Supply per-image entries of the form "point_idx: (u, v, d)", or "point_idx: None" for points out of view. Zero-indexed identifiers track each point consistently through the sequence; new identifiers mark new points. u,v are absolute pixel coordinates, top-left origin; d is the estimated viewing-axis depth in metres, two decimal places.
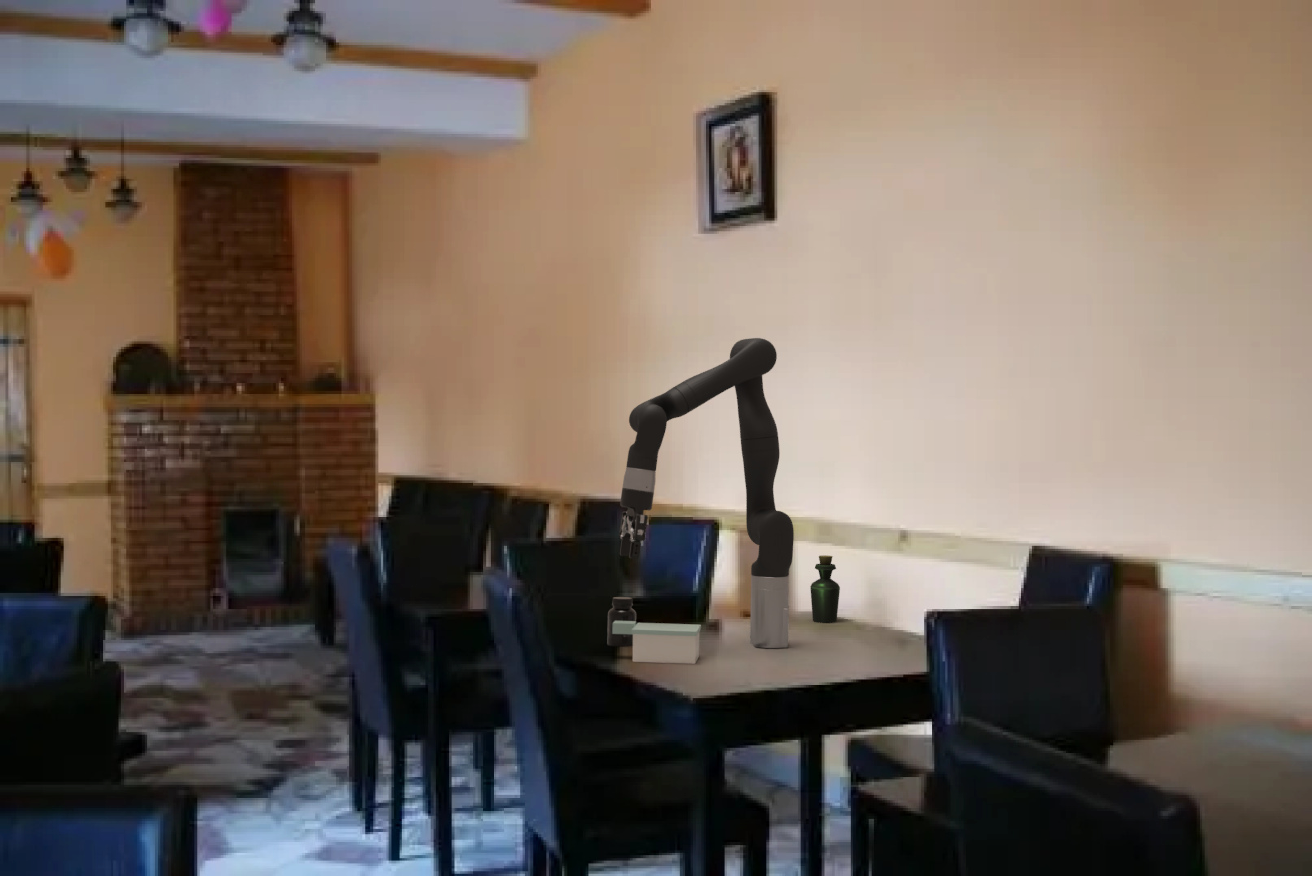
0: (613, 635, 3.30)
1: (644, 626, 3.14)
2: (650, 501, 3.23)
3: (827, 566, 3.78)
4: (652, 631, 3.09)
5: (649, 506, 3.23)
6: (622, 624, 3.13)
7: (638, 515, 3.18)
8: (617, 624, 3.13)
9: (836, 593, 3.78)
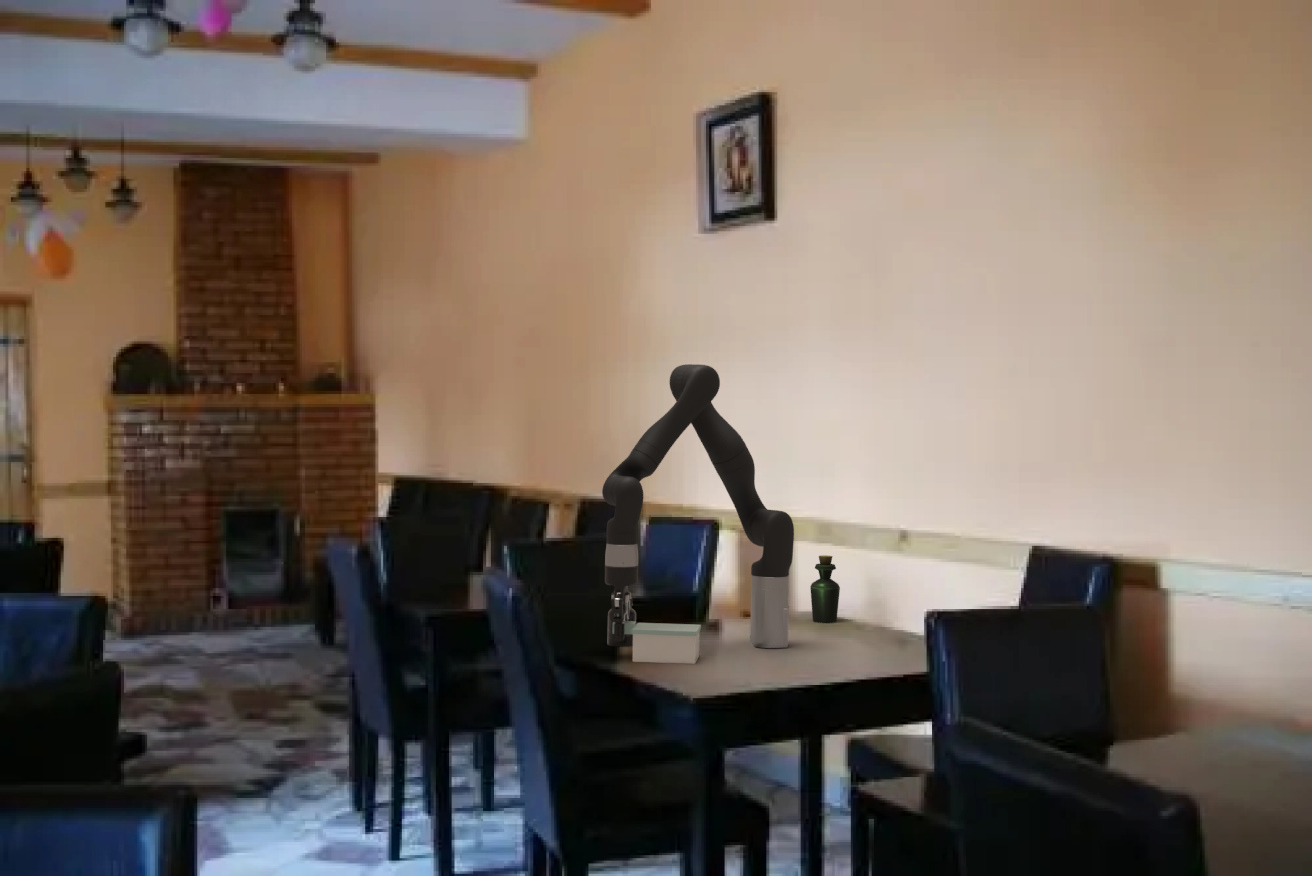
0: (613, 635, 3.30)
1: (644, 626, 3.14)
2: (631, 576, 3.12)
3: (827, 566, 3.78)
4: (652, 631, 3.09)
5: (630, 581, 3.12)
6: None
7: (612, 600, 3.08)
8: None
9: (836, 593, 3.78)
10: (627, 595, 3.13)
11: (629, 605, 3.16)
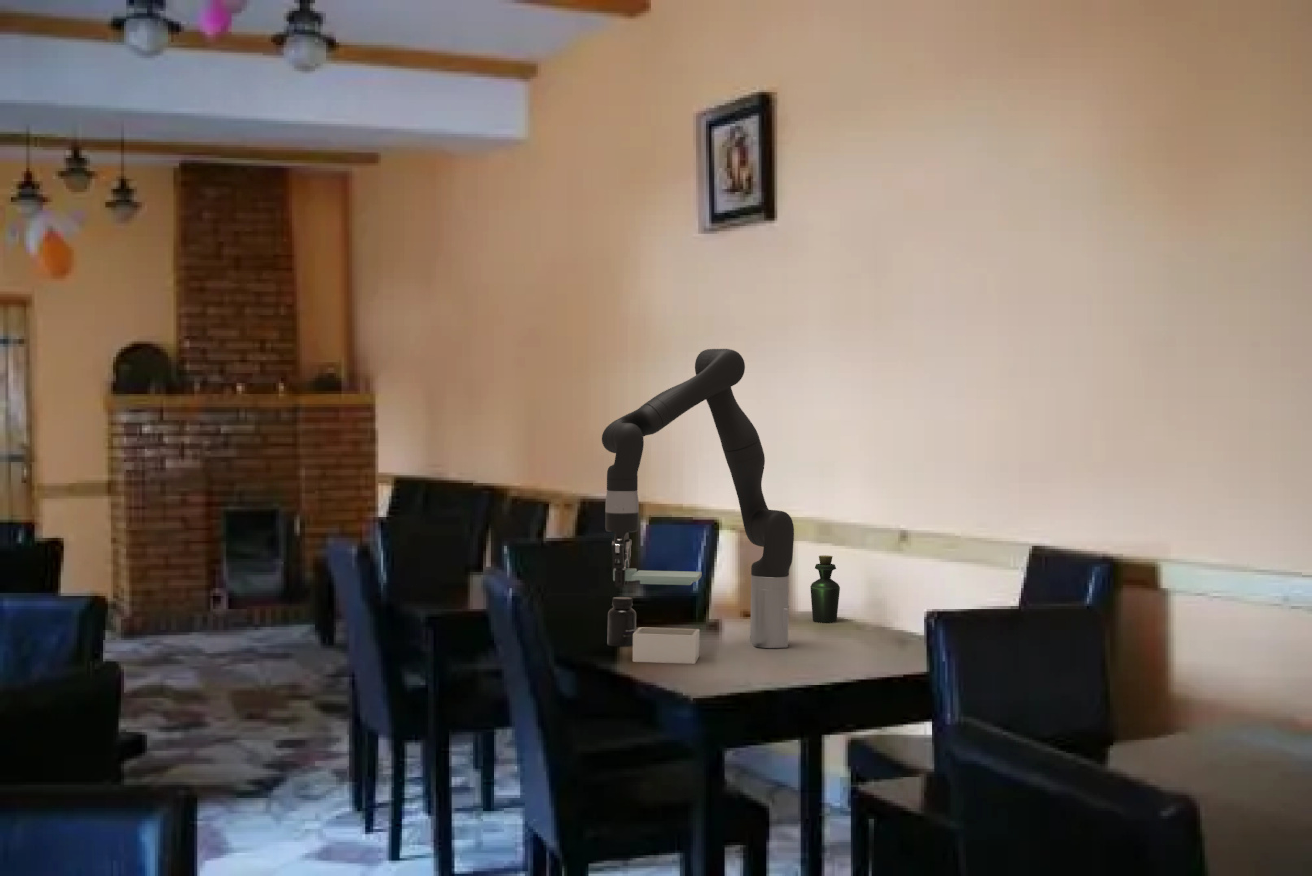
0: (613, 635, 3.30)
1: (645, 573, 3.14)
2: (631, 523, 3.12)
3: (827, 566, 3.78)
4: (653, 577, 3.09)
5: (630, 528, 3.12)
6: None
7: (612, 546, 3.08)
8: None
9: (836, 593, 3.78)
10: (628, 542, 3.13)
11: (630, 552, 3.16)
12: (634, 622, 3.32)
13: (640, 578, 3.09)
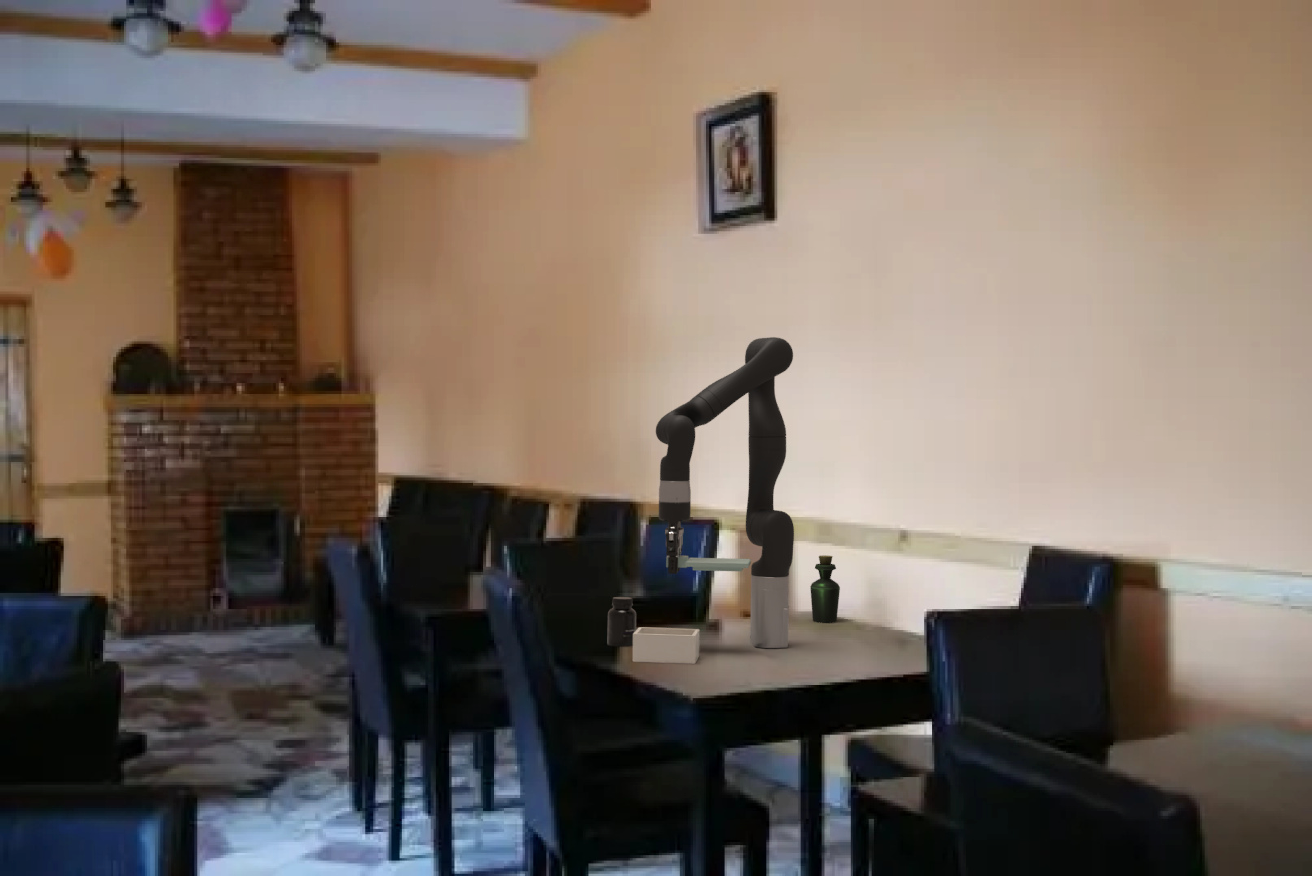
0: (613, 635, 3.30)
1: (696, 560, 3.25)
2: (684, 511, 3.23)
3: (827, 566, 3.78)
4: (705, 564, 3.20)
5: (683, 516, 3.23)
6: None
7: (667, 534, 3.20)
8: None
9: (836, 593, 3.78)
10: (680, 530, 3.24)
11: (682, 540, 3.28)
12: (634, 622, 3.32)
13: (693, 565, 3.20)
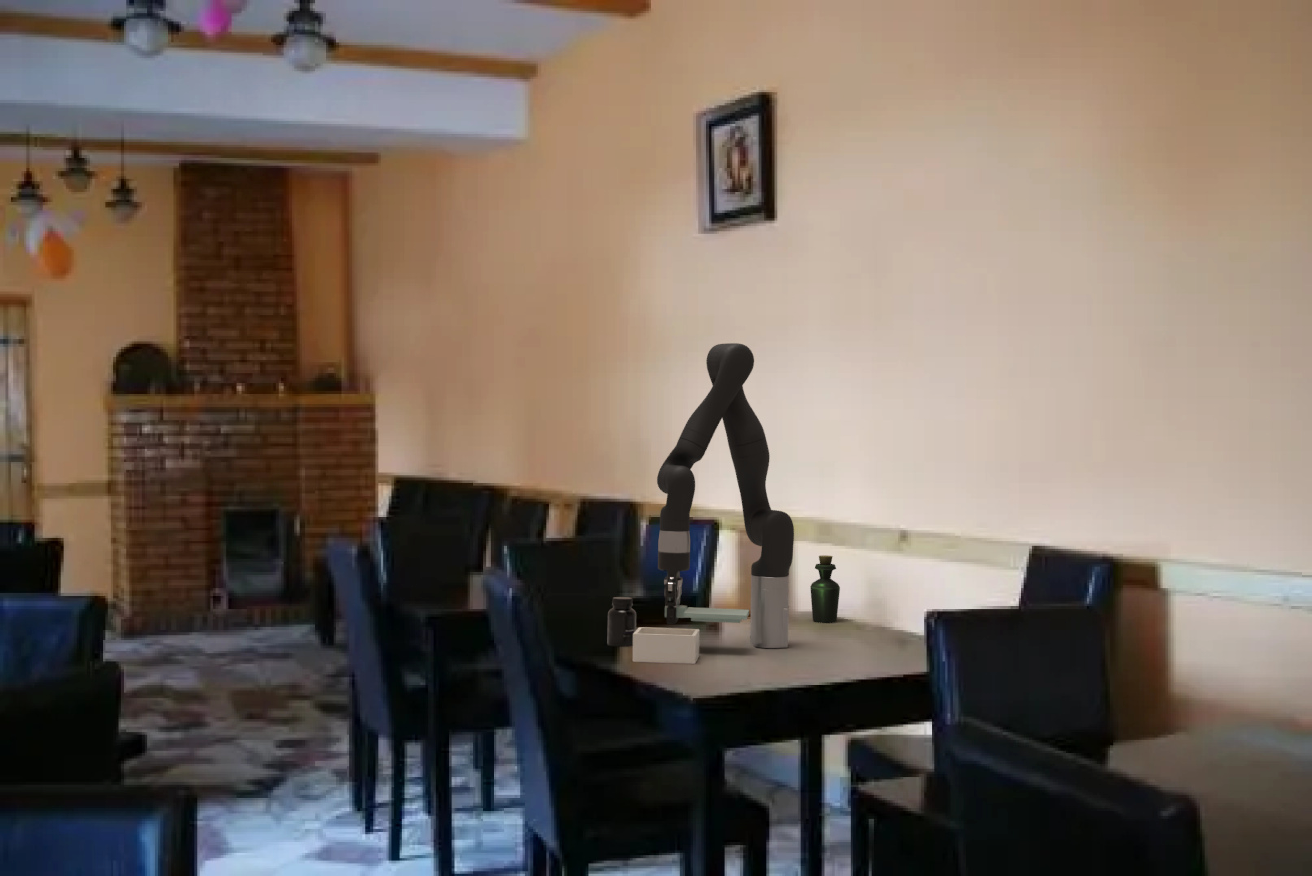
0: (613, 635, 3.30)
1: (695, 610, 3.25)
2: (683, 562, 3.23)
3: (827, 566, 3.78)
4: (704, 615, 3.20)
5: (682, 567, 3.23)
6: None
7: (666, 584, 3.20)
8: None
9: (836, 593, 3.78)
10: (679, 580, 3.24)
11: (680, 590, 3.28)
12: (634, 622, 3.32)
13: (691, 615, 3.20)
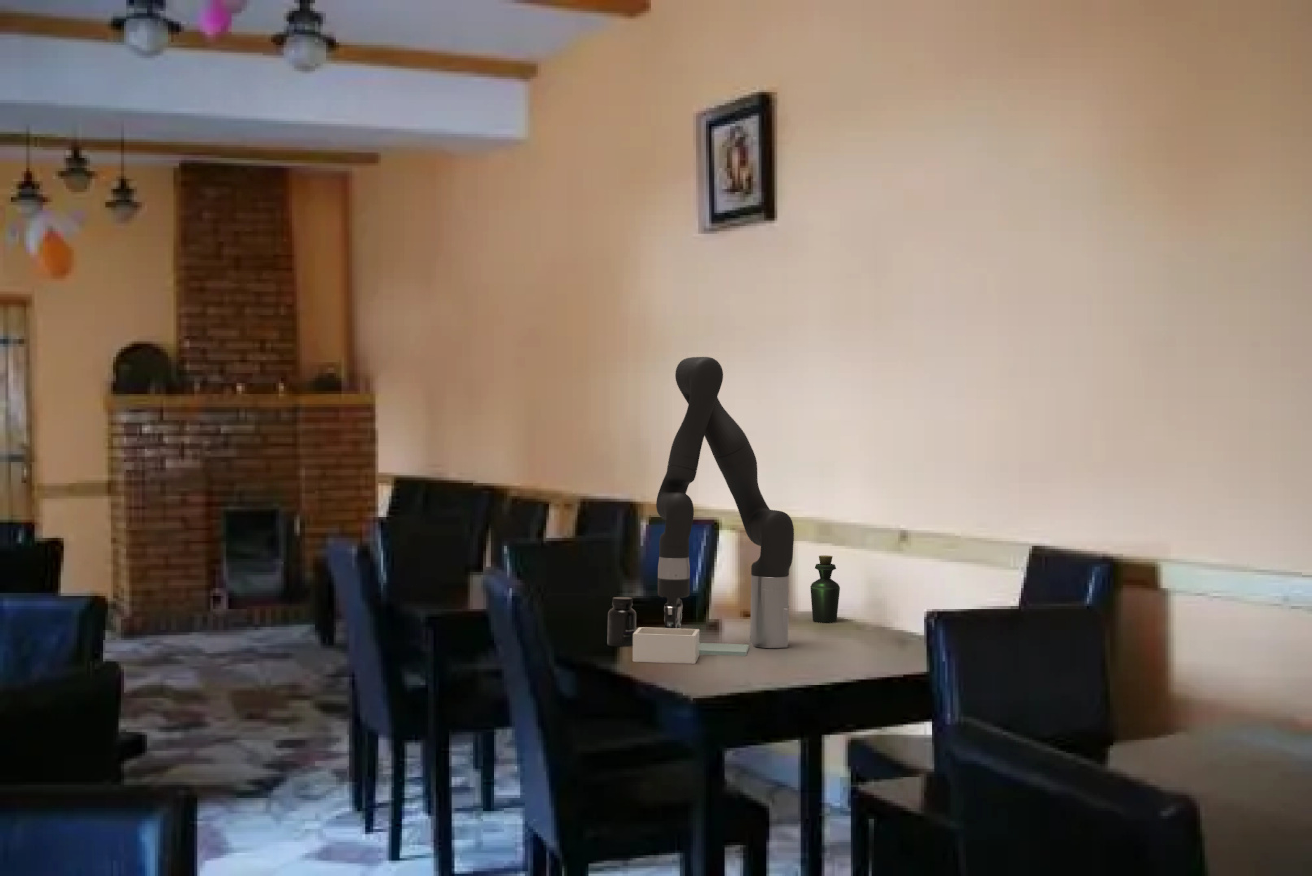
0: (613, 635, 3.30)
1: None
2: (683, 588, 3.23)
3: (827, 566, 3.78)
4: (703, 651, 3.20)
5: (682, 593, 3.23)
6: None
7: (665, 608, 3.20)
8: None
9: (836, 593, 3.78)
10: (679, 606, 3.25)
11: (681, 615, 3.29)
12: (634, 622, 3.32)
13: None
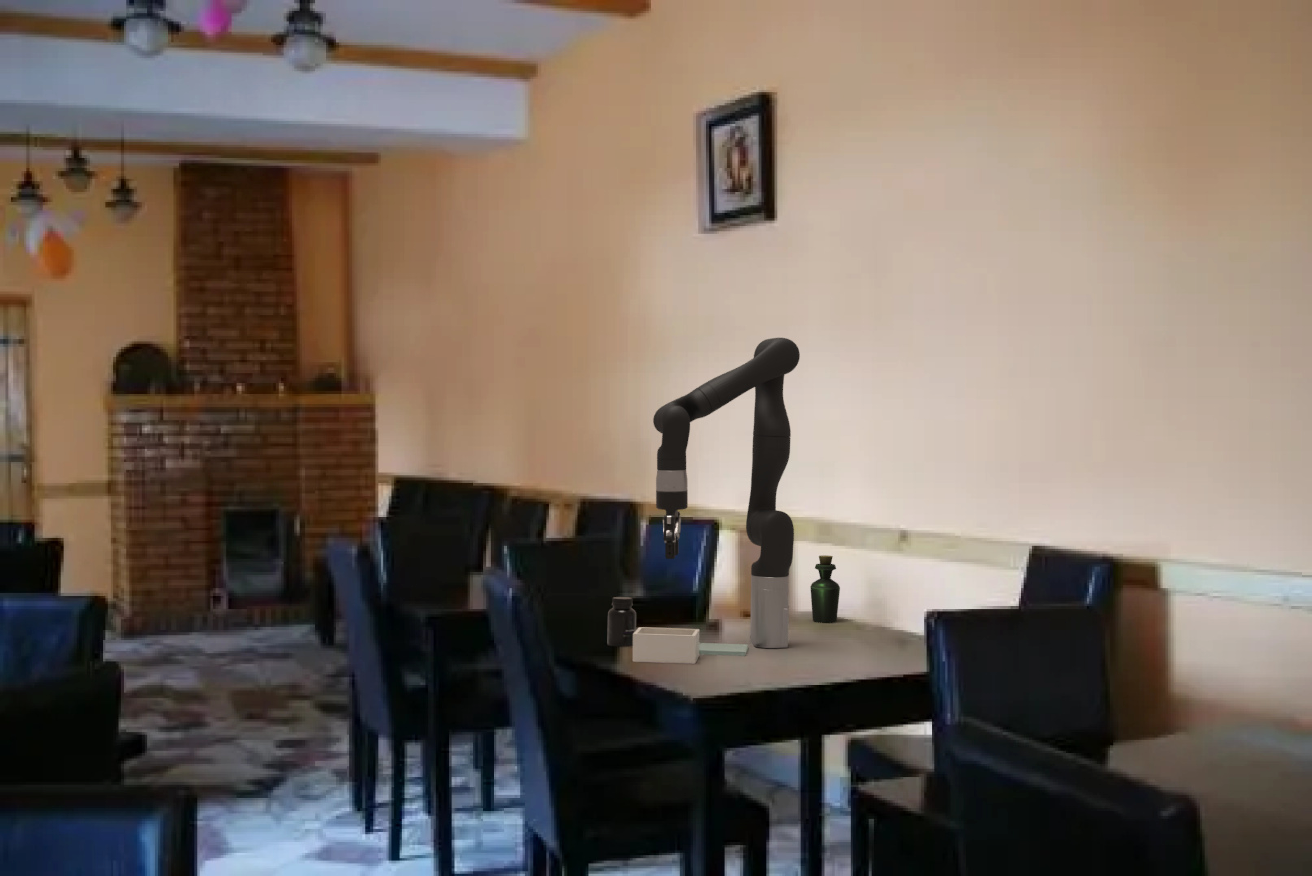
0: (613, 635, 3.30)
1: None
2: (681, 500, 3.27)
3: (827, 566, 3.78)
4: (702, 651, 3.20)
5: (681, 505, 3.27)
6: None
7: (664, 516, 3.24)
8: None
9: (836, 593, 3.78)
10: (678, 518, 3.28)
11: (680, 527, 3.33)
12: (634, 622, 3.32)
13: None
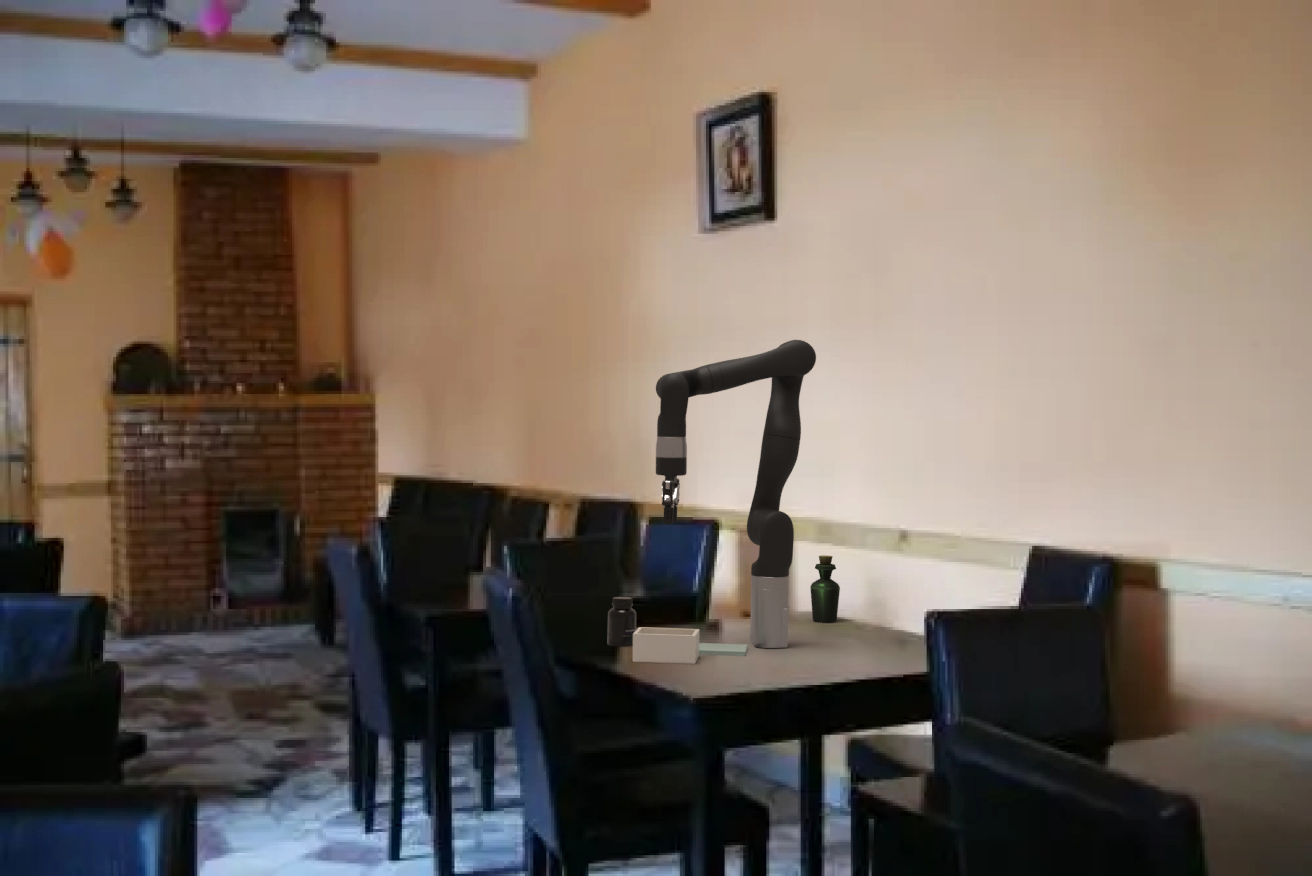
0: (613, 635, 3.30)
1: None
2: (680, 466, 3.32)
3: (827, 566, 3.78)
4: (702, 651, 3.20)
5: (680, 471, 3.32)
6: None
7: (663, 482, 3.29)
8: None
9: (836, 593, 3.78)
10: (677, 484, 3.33)
11: (678, 493, 3.38)
12: (634, 622, 3.32)
13: None
